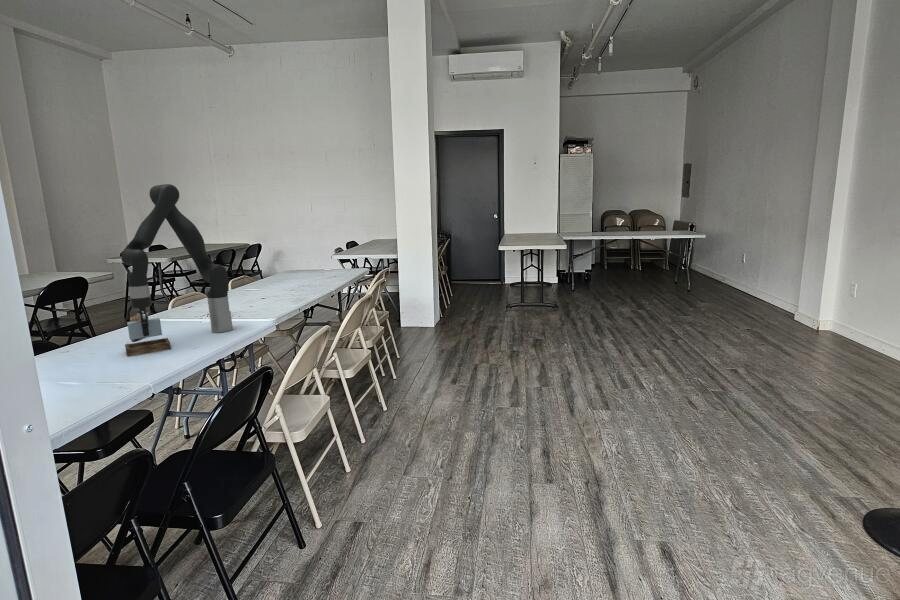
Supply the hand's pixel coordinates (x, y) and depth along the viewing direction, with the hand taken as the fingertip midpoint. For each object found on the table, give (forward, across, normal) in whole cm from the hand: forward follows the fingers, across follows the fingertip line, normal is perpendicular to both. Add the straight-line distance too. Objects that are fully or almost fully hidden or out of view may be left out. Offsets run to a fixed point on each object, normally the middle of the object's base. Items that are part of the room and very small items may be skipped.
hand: (145, 334), depth 221 cm
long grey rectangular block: (+1, 0, 0) cm, 1 cm away
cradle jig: (+7, 0, 0) cm, 7 cm away
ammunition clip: (+7, +26, +1) cm, 27 cm away
